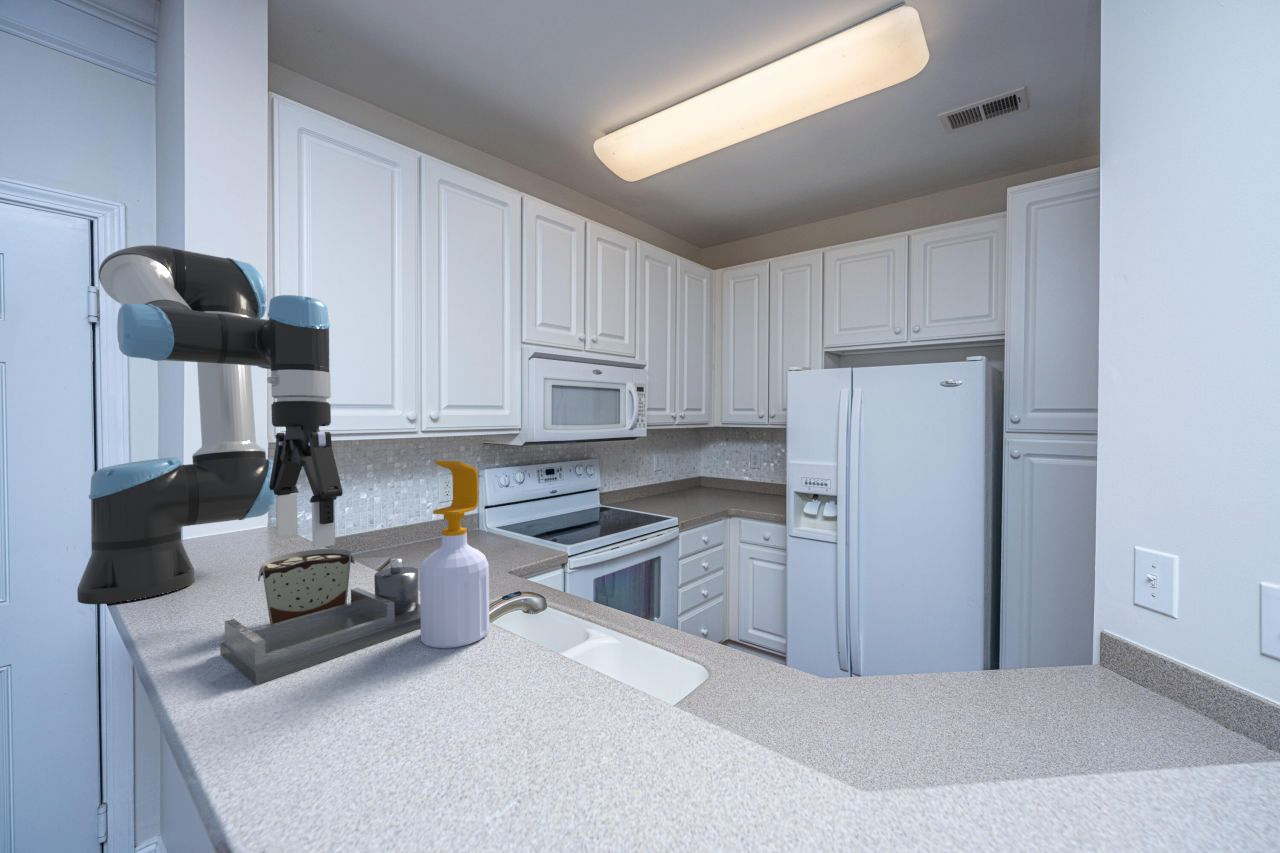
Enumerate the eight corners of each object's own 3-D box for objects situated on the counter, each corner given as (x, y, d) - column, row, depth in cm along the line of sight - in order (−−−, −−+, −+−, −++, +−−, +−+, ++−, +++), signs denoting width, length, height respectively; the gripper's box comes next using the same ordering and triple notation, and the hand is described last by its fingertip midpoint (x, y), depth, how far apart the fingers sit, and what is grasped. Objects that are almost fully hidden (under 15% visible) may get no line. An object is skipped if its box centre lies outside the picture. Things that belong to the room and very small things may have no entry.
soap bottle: (405, 645, 70) (403, 462, 69) (449, 620, 78) (447, 457, 78) (463, 653, 67) (460, 463, 67) (501, 626, 76) (499, 458, 75)
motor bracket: (220, 654, 67) (219, 585, 67) (394, 603, 86) (393, 549, 85) (256, 685, 59) (254, 606, 59) (439, 621, 78) (438, 561, 78)
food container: (344, 604, 86) (343, 543, 85) (355, 614, 81) (354, 550, 81) (251, 625, 77) (250, 558, 77) (259, 637, 73) (257, 566, 72)
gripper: (243, 403, 83) (246, 536, 83) (308, 395, 68) (311, 557, 68) (296, 404, 89) (299, 528, 89) (366, 397, 74) (370, 545, 74)
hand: (304, 541), depth 79 cm, fingers open, 13 cm apart
